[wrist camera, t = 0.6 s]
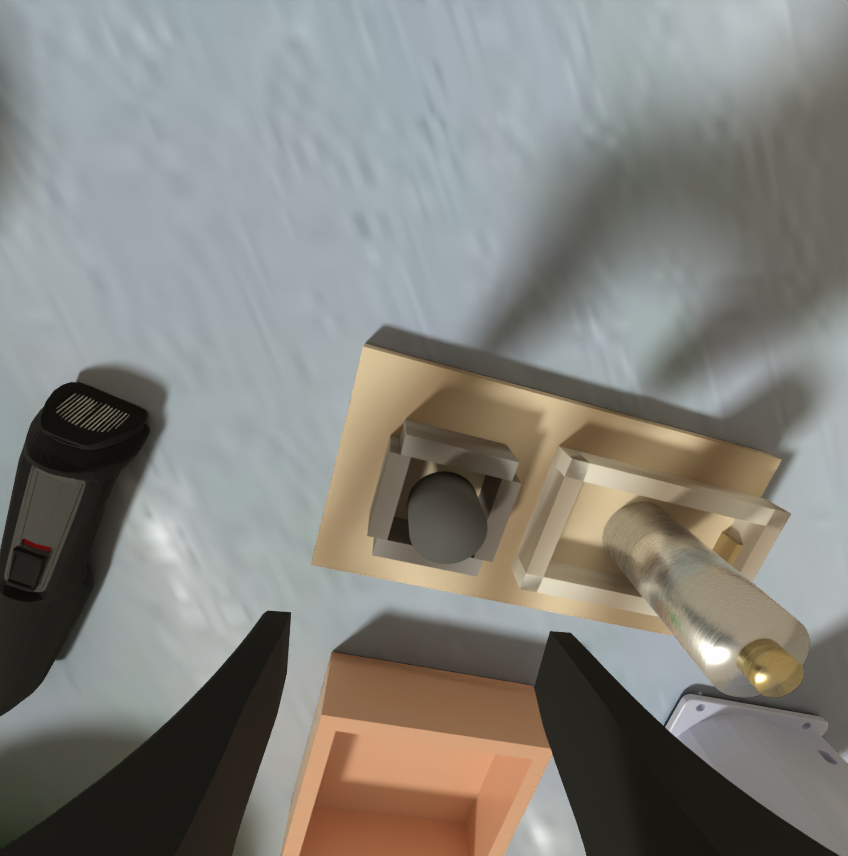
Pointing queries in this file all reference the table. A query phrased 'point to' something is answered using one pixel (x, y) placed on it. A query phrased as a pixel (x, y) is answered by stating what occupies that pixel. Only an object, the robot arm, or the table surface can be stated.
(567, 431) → the wooden board with compartments
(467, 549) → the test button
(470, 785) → the dish
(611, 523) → the cell
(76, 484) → the electric trimmer
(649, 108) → the table surface
